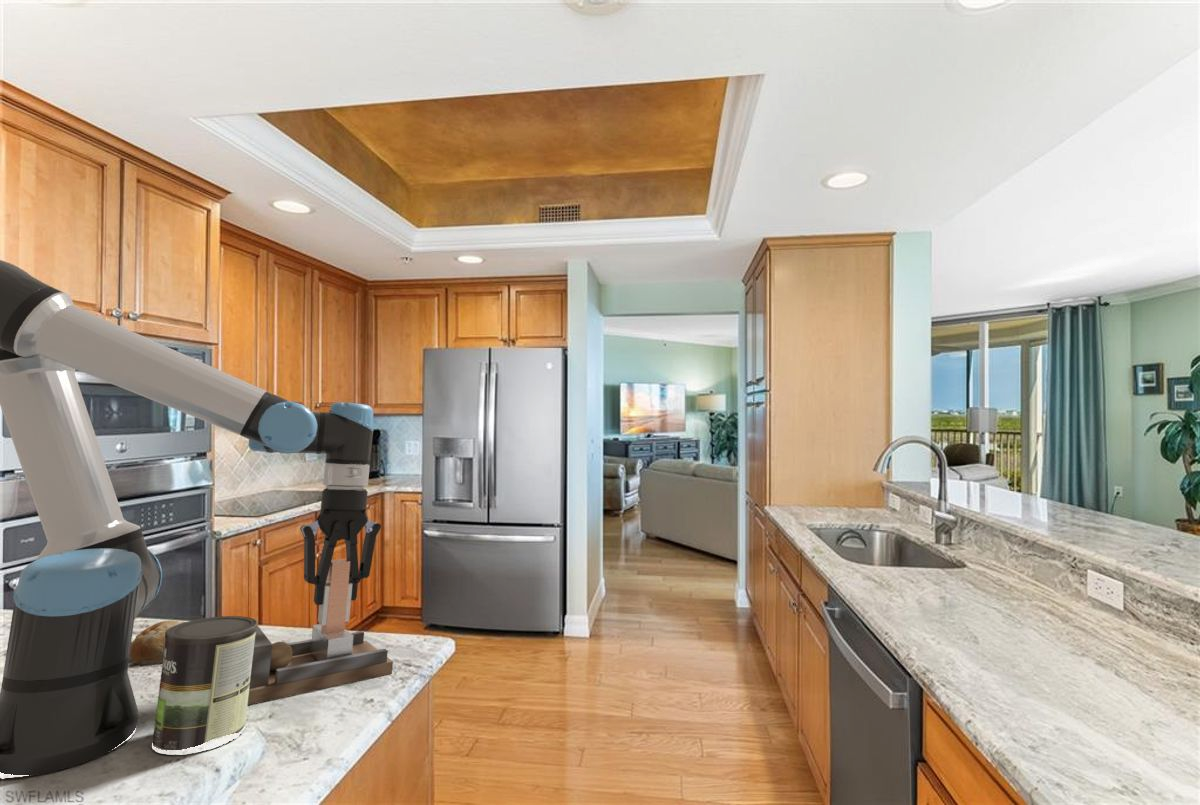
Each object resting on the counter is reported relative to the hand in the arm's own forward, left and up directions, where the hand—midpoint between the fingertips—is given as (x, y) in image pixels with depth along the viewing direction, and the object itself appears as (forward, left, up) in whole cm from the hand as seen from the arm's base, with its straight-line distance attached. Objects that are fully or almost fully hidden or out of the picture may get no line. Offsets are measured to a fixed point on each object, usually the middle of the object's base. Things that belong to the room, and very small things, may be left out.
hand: (333, 621), depth 96 cm
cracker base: (-2, 0, -9) cm, 9 cm away
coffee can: (-19, -14, -9) cm, 26 cm away
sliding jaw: (0, 0, -6) cm, 6 cm away
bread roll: (-22, +25, -9) cm, 35 cm away
